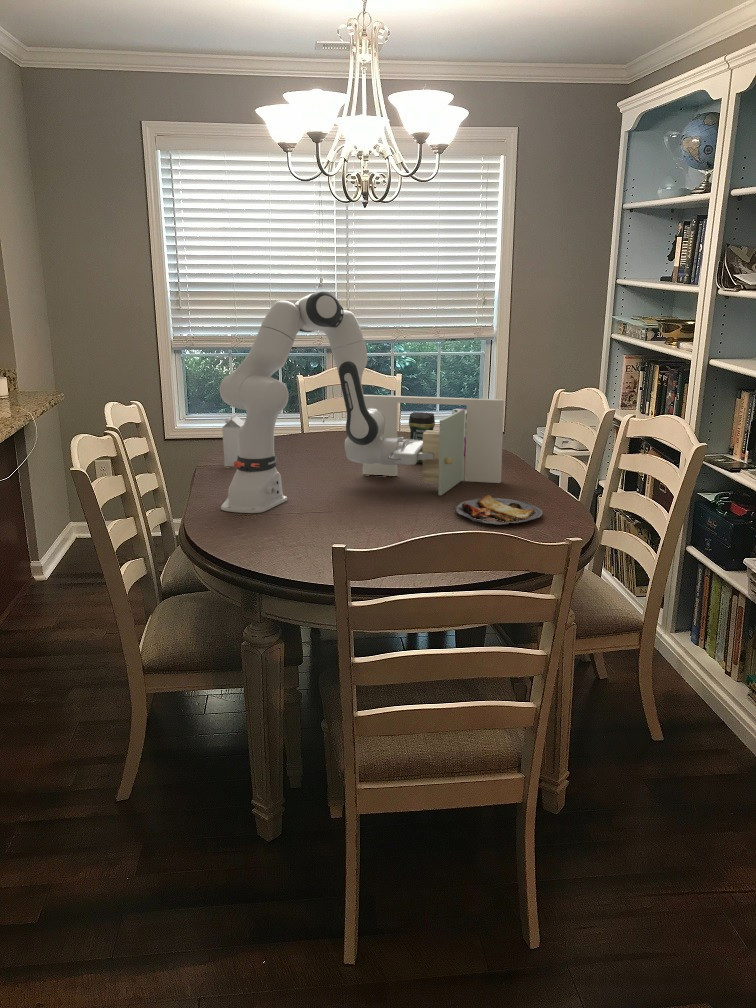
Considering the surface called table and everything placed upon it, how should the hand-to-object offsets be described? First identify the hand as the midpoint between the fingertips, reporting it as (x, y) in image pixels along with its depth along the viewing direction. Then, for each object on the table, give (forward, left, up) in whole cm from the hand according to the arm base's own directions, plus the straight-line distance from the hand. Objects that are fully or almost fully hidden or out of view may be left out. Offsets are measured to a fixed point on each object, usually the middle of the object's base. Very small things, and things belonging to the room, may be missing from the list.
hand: (435, 453), depth 260 cm
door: (+4, -6, -12) cm, 14 cm away
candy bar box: (+59, -1, -13) cm, 61 cm away
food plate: (-23, -23, -13) cm, 35 cm away
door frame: (+15, +4, -12) cm, 20 cm away
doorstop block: (0, +1, -9) cm, 9 cm away
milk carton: (+17, +77, -13) cm, 80 cm away
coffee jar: (+39, +12, -13) cm, 43 cm away
